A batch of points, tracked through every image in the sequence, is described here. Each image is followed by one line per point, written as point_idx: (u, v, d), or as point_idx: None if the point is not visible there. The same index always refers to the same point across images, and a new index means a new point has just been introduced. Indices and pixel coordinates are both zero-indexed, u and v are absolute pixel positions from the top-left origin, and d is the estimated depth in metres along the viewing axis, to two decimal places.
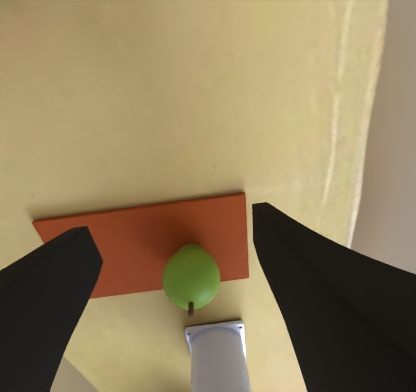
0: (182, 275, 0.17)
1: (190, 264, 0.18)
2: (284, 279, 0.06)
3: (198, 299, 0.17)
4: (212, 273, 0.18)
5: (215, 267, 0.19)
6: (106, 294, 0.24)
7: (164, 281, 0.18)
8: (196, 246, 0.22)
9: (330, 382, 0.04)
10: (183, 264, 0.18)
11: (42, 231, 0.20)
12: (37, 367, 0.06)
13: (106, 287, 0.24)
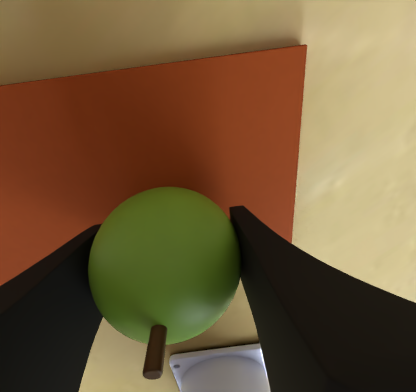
0: (133, 243, 0.06)
1: (159, 212, 0.06)
2: (252, 283, 0.06)
3: (182, 318, 0.06)
4: (223, 240, 0.06)
5: (230, 228, 0.07)
6: None
7: (88, 264, 0.07)
8: None
9: (282, 388, 0.04)
10: (139, 213, 0.06)
11: None
12: (68, 362, 0.06)
13: None
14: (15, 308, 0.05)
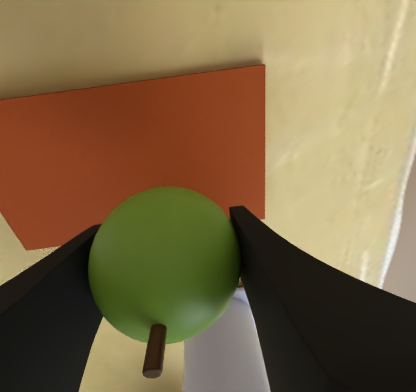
0: (133, 242, 0.06)
1: (159, 212, 0.06)
2: (252, 283, 0.06)
3: (181, 317, 0.06)
4: (223, 240, 0.06)
5: (229, 228, 0.07)
6: (64, 242, 0.17)
7: (88, 263, 0.07)
8: None
9: (282, 388, 0.04)
10: (139, 212, 0.06)
11: None
12: (68, 363, 0.06)
13: (63, 230, 0.17)
14: (15, 308, 0.05)
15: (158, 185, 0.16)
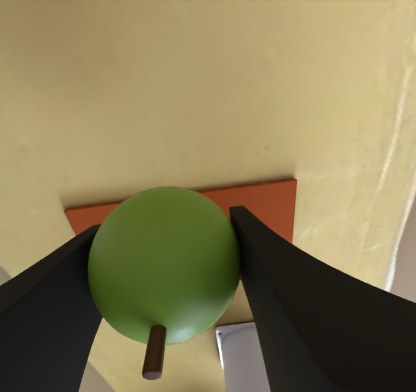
0: (133, 243, 0.06)
1: (159, 212, 0.06)
2: (252, 283, 0.06)
3: (181, 318, 0.06)
4: (223, 240, 0.06)
5: (230, 228, 0.07)
6: None
7: (88, 264, 0.07)
8: None
9: (282, 388, 0.04)
10: (139, 213, 0.06)
11: (74, 220, 0.18)
12: (68, 363, 0.06)
13: None
14: (15, 308, 0.05)
15: None
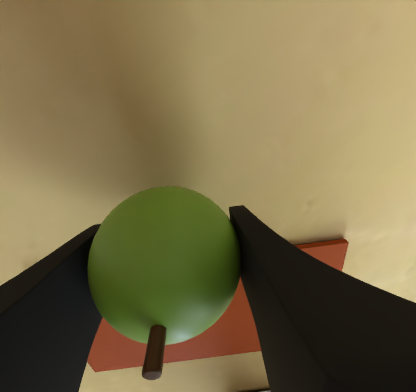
0: (132, 243, 0.06)
1: (159, 212, 0.06)
2: (252, 283, 0.06)
3: (181, 318, 0.06)
4: (223, 240, 0.06)
5: (230, 228, 0.07)
6: (132, 365, 0.18)
7: (88, 264, 0.07)
8: None
9: (282, 388, 0.04)
10: (139, 213, 0.06)
11: None
12: (68, 363, 0.06)
13: (133, 357, 0.17)
14: (16, 307, 0.05)
15: (230, 324, 0.16)
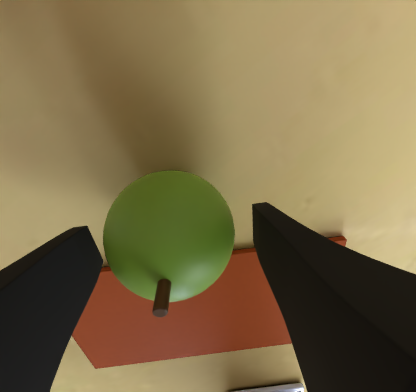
0: (143, 212, 0.07)
1: (164, 188, 0.07)
2: (284, 279, 0.06)
3: (183, 273, 0.07)
4: (218, 213, 0.08)
5: (224, 204, 0.08)
6: (132, 362, 0.18)
7: (104, 233, 0.08)
8: None
9: (330, 382, 0.04)
10: (147, 189, 0.07)
11: None
12: (37, 367, 0.06)
13: (133, 354, 0.18)
14: None
15: (229, 321, 0.16)
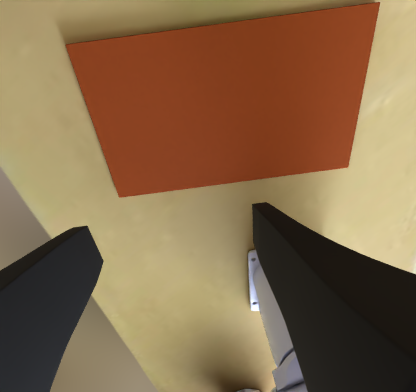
0: None
1: None
2: (284, 279, 0.06)
3: None
4: None
5: None
6: (156, 189, 0.18)
7: None
8: None
9: (330, 382, 0.04)
10: None
11: (79, 63, 0.14)
12: (37, 367, 0.06)
13: (158, 176, 0.18)
14: None
15: (256, 129, 0.16)
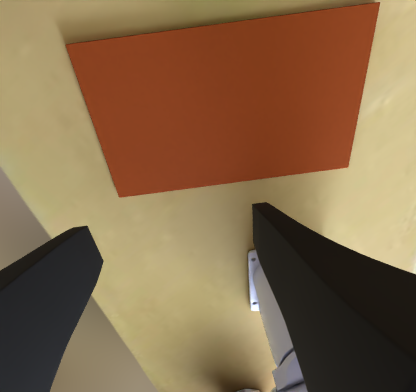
0: None
1: None
2: (284, 279, 0.06)
3: None
4: None
5: None
6: (156, 189, 0.18)
7: None
8: None
9: (330, 382, 0.04)
10: None
11: (79, 63, 0.14)
12: (37, 367, 0.06)
13: (158, 176, 0.18)
14: None
15: (256, 129, 0.16)
